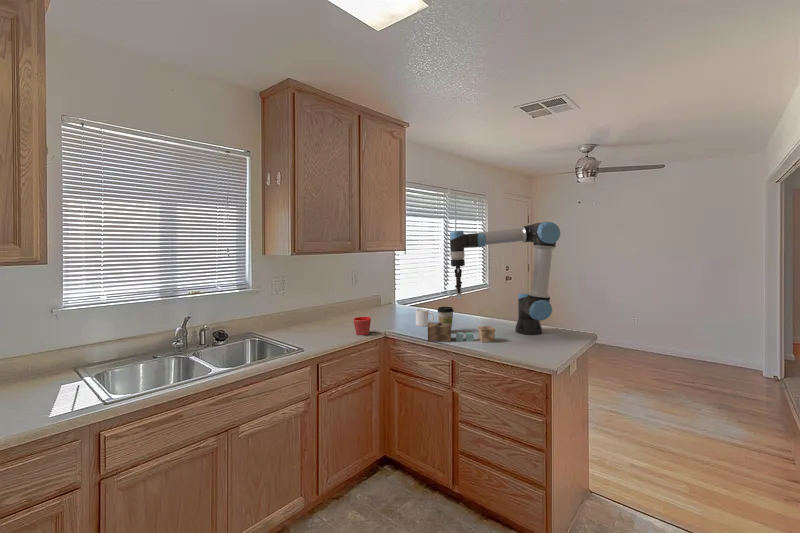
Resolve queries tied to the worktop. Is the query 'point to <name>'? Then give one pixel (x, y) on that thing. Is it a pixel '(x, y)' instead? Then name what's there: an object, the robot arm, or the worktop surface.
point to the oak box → (486, 334)
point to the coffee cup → (445, 315)
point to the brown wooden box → (439, 332)
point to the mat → (438, 341)
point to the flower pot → (362, 325)
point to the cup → (423, 317)
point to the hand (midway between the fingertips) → (459, 297)
